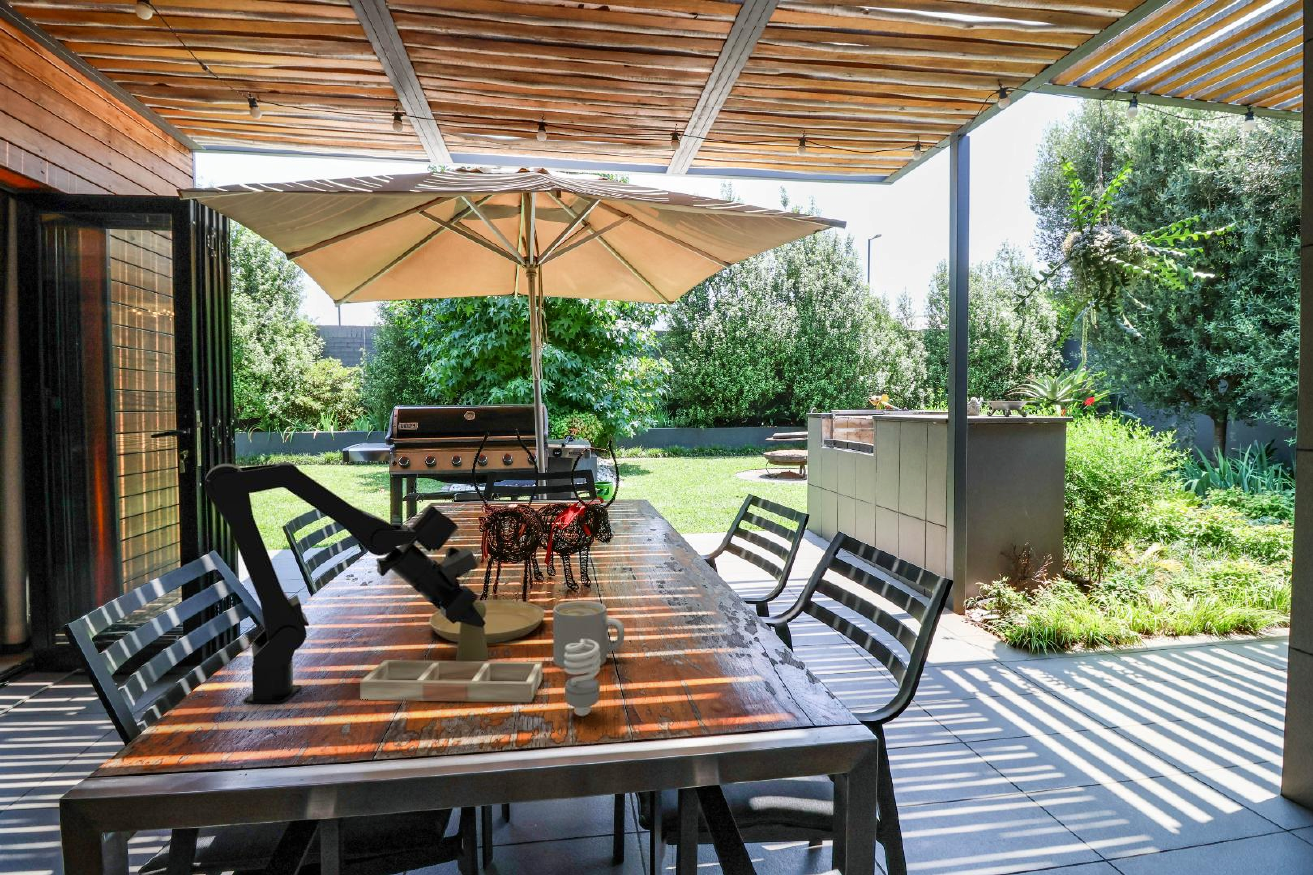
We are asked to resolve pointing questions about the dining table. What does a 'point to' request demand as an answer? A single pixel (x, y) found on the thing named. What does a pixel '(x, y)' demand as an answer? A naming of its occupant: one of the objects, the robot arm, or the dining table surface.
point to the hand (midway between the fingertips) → (479, 621)
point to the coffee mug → (583, 628)
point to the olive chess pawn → (473, 639)
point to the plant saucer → (496, 621)
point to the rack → (452, 681)
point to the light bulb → (586, 687)
